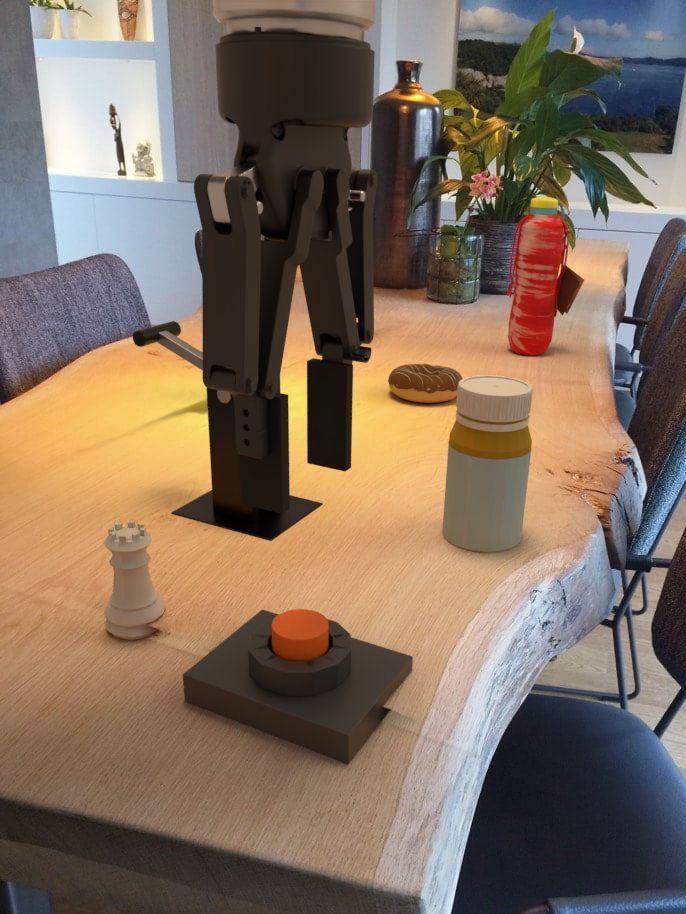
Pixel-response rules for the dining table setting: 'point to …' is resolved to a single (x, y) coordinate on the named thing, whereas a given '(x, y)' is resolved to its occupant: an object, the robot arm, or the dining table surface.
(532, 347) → the water bottle
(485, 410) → the bottle
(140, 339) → the lever
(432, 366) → the donut
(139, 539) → the rook chess piece
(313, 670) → the control block
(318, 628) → the button
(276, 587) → the dining table surface
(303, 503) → the bracket
